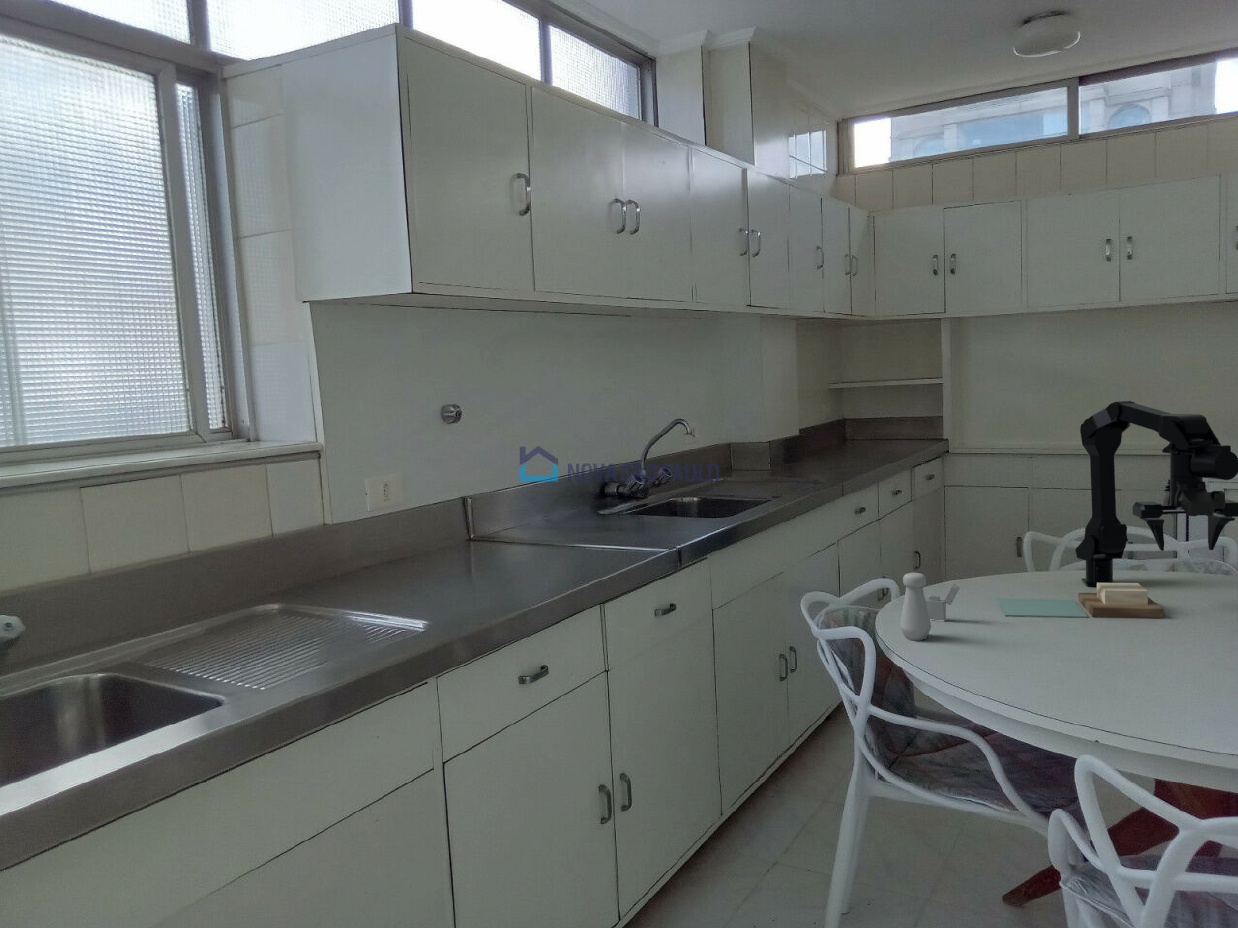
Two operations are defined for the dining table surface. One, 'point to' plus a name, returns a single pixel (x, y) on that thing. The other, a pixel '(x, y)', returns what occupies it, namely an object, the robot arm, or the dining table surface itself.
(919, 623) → the salt shaker
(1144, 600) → the birch tile
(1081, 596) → the walnut board
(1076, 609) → the rubber mat
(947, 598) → the lighter
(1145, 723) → the dining table surface
